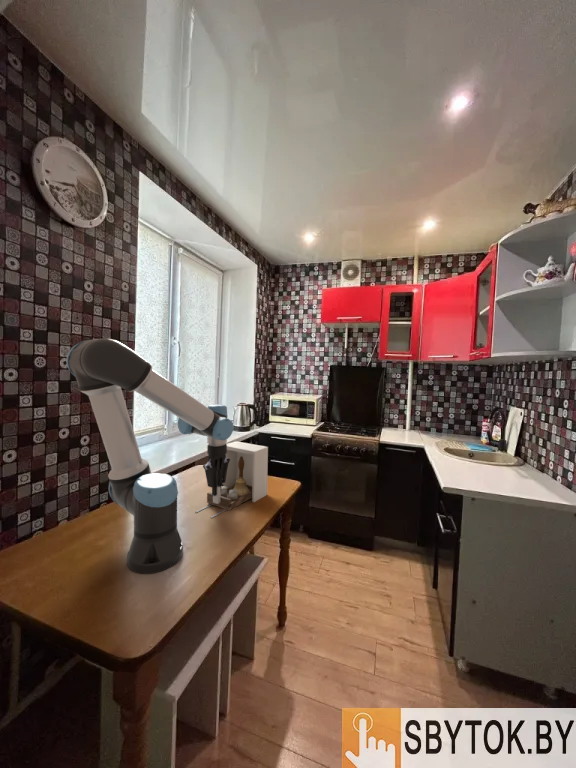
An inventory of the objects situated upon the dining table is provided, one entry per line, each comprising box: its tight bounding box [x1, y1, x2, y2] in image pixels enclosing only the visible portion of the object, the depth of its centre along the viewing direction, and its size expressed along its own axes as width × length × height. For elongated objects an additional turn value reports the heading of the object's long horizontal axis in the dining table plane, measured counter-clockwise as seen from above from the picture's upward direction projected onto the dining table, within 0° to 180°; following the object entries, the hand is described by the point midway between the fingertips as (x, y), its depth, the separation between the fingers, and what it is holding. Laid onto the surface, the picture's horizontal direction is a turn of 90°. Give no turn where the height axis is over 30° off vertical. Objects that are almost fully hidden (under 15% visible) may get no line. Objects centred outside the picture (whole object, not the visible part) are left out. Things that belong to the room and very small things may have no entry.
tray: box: [206, 485, 252, 511], centre depth 134 cm, size 20×12×5 cm, turn 149°
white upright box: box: [195, 440, 269, 519], centre depth 131 cm, size 29×18×22 cm, turn 149°
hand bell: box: [234, 456, 250, 496], centre depth 137 cm, size 8×8×16 cm
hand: (216, 502), depth 124 cm, fingers closed
